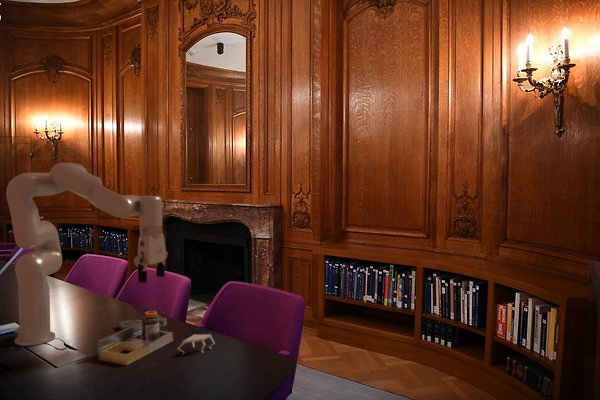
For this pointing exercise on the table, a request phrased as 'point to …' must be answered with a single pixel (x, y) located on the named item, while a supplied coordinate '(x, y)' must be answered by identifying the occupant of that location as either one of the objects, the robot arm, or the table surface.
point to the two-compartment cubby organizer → (129, 345)
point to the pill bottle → (150, 326)
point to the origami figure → (197, 338)
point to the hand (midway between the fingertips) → (151, 279)
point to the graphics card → (133, 322)
